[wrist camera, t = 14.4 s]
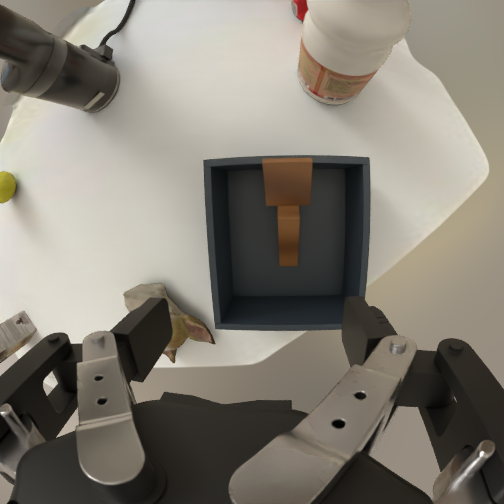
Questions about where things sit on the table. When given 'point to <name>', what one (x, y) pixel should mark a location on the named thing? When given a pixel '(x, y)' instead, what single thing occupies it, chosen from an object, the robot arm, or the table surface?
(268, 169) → the spatula
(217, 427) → the robot arm
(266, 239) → the bin
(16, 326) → the coffee box
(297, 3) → the soda can
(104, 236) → the table surface
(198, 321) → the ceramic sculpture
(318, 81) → the fruit juice
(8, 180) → the fruit
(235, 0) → the table surface
